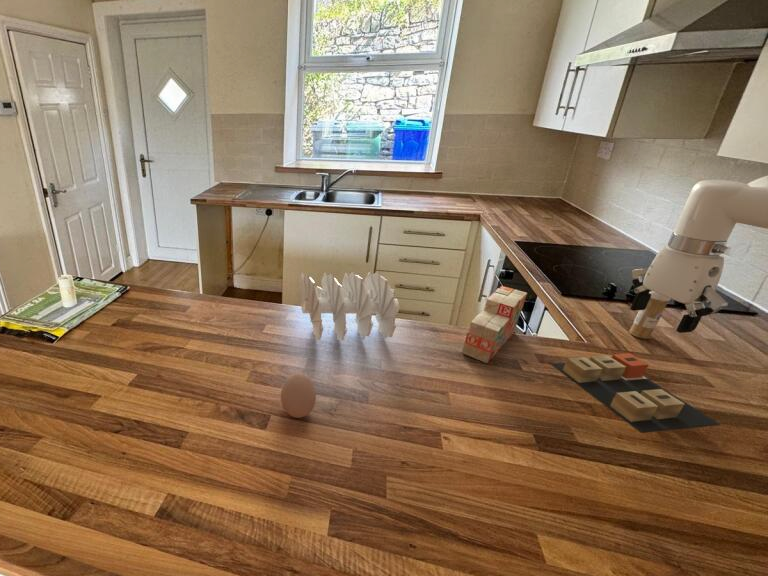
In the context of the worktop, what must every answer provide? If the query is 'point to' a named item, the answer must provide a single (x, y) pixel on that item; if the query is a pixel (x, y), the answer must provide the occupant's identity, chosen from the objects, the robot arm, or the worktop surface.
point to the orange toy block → (631, 365)
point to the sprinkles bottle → (649, 316)
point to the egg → (298, 395)
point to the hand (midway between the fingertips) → (659, 320)
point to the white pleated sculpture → (350, 303)
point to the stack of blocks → (494, 324)
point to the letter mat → (609, 388)
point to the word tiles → (624, 402)
